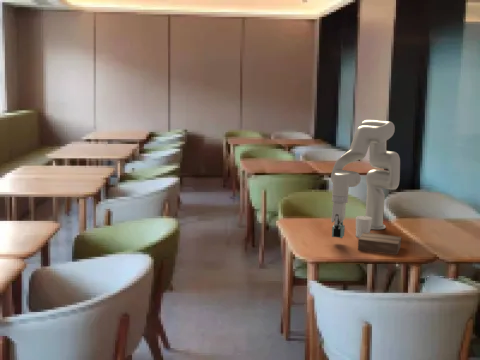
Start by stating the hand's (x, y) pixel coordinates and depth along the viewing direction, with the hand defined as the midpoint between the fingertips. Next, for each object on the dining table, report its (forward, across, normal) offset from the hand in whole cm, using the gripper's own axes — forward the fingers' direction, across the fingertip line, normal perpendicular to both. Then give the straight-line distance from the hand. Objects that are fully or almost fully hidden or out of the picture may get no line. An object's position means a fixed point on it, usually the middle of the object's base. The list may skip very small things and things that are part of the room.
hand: (338, 234), depth 280 cm
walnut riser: (+4, -1, +20) cm, 20 cm away
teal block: (+1, 0, 0) cm, 1 cm away
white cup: (+5, -18, +9) cm, 21 cm away
